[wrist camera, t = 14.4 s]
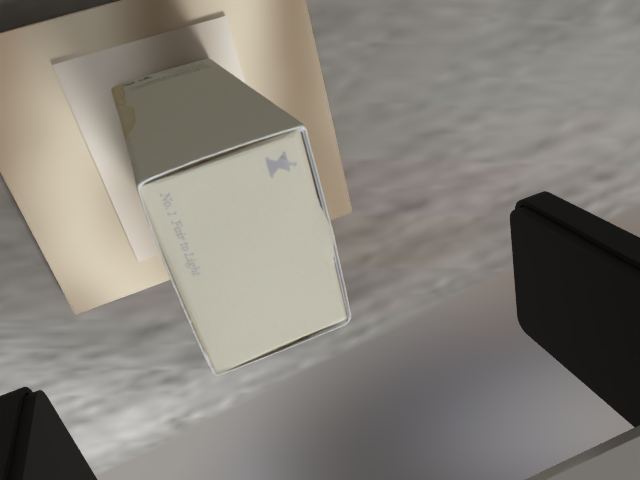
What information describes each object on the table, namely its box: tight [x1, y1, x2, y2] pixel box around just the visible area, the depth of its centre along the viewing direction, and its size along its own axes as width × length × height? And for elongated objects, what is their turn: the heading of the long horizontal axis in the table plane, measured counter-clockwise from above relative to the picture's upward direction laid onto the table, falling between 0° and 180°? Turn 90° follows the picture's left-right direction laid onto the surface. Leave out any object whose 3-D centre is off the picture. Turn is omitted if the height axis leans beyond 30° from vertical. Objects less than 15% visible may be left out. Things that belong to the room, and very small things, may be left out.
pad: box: [0, 0, 352, 315], centre depth 26 cm, size 14×12×1 cm
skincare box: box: [111, 59, 351, 376], centre depth 20 cm, size 6×4×12 cm
